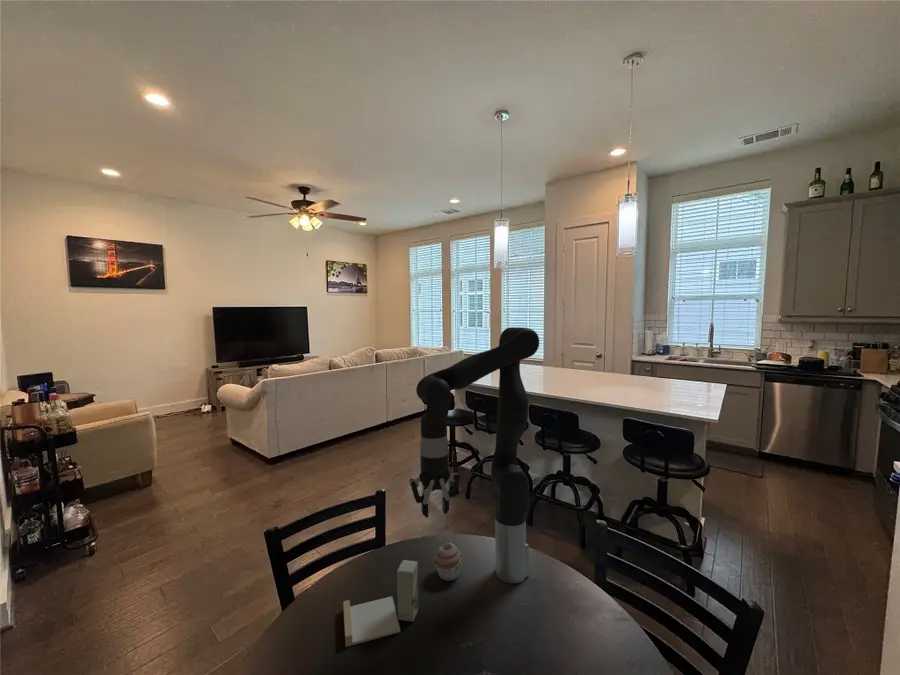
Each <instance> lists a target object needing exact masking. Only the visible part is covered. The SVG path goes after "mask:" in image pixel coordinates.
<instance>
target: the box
mask: <svg viewBox="0 0 900 675" xmlns="http://www.w3.org/2000/svg"><path fill="white" fill-rule="evenodd" d="M418 564H419V562H418V561H417V560H416V561H415V560H407V559H405V560H404V559H403V560H402V561H401V562H400V565H399V567H398V568H397V571H396V578H397V579H396V582H397V583H396V588H397V593H396V594H397V595H396V596H397V618H398V621H404V622H405V621H406V622H414V620H415V619H416V616H417V614H418V611H419V605H420V604H419V572H418V571H419V570H418V569H419V568H418Z"/></svg>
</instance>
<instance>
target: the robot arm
mask: <svg viewBox="0 0 900 675" xmlns="http://www.w3.org/2000/svg"><path fill="white" fill-rule="evenodd" d="M539 347H540V337H539V335H538V333H537V332H536V331H535V330H534V329H532V328H528V327H518V326H517V327H512V326H511V327H507V328H505V329H504V330H503V331H502V332H501V333H500V336H499V341H498V346H496V347H494V348H491V349H488V350H486V351H482V352H478V353H475V354H473V355H471V356H468V357H465V358H464V359H462V360H460V361H458V362H456V363H454V364H453V365H452V366H449V367H447V368H445V369H444V368H443V369H440V370H437V371H435V372H433V373H429V374H427V375H426V376H424V377H423V378H421V380H419V381H418V383H417V385H416V390H415V391H416V395H417V397H418V398H419V399H420V400H421V401H423V402H425V403H426V408H425V413H423V414H422V416H421V417H420V444H419V448H420V450H419V451H420V460H419V461H420V473H419V476H418V477H416V478H409V481H408V482H409V484H410V488H411V489H410V490H411V491H412V492H411V493H412V496H413V499H414V500H415V502H416V504H421V514H422V516H423V517H424V518H426V519H427V518H429V503H428V501H429V498H430V496H431V494H432V492H434V491H440V492H441V494H442V497H441V500H442V501H441V504H442V508H441V510H442V513H443V514H444V515H448V512H449V511H450V499H452V498H456V496H457V491H458V487H459V482H460V478H461V476H460V475H459V474H458V473H457V471H454V472H450V470H449V469H450V468H449V467H450V466H449V450H450V448H449V439H448V421H447V420H448V415H449V412H450V405H451V401H452V391H455V390H458V391H459V390H463V389H465V388H466V387H469V386H470V385H472V384H474V383H476V382H477V381H479V380H481V379H483V378H484V377H487V376H488V375H490V374H492V373H493V372H495V371H498V370H499V377H498V378H499V381H498V397H497V398H498V400H497V412H496V430H495V431H496V432H495V450H494V456H493V460H492V466H491V473H490V475H491V476H490V478H491V479H490V480H491V483H492V485H493V487H494V488H495V489H496V491H498V492H499V504H498V505H497V506H496V507H495V509H494V530H495V534H494V535H495V537H494V539H495V542H494V544H495V575H496V577H497V578H498V579H499V580H500V581H501V582H504V583H506V584H511V585H512V584H519V583H522V582H523V581H525V579H526V578H528V577H530V545H529V544H528V543H527V526H526V524H527V523H526V520H527V517H526V516H527V513H528V510H529V502H530V501H529V500H530V499H529V495H530V487H529V486H530V485H529V484H530V483H529V478H528V476H527V475H526V473H525V472H524V471H523V470H522V469H520V468H519V467H518V465H517V464H518V460H517V457H518V455H517V454H518V447H519V443H520V440H521V438H522V436H523V434H524V432H525V430H526V427H527V423H528V416H529V398H528V395H527V392H526V388H525V386H524V383H523V379H522V377H521V368H520V367H521V361H522V360H525V359H529V358H531V357H532V356H534V355H535V354H536V353H537V352H538V349H539ZM448 480H449V481H450V486H449V490H448V489H447V486H446V484H447V483H448ZM420 483H421V484H422V485H423V488H422V493H421V495H420V493H419V491H418V488H419V487H420Z"/></svg>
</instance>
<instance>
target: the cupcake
mask: <svg viewBox="0 0 900 675" xmlns="http://www.w3.org/2000/svg"><path fill="white" fill-rule="evenodd" d="M463 557H464V556H463V554H461V552H460V550H459V548H458V547H457V546H456V545H455V544H454V543H452V542H446V543H445V544H443V545H441V546H439V547H438V549H437V553H436V556H434V557H433V560H434V561H433V565H435V567H436V571H437V573H438V577H439V578H440V579H441V580H442V581H445V582H452V581H455V580H456V579H458V577H459V576H460V572H461V568H462V565H463V563H464V561H465V559H464V558H463Z"/></svg>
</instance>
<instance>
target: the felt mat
mask: <svg viewBox="0 0 900 675" xmlns="http://www.w3.org/2000/svg"><path fill="white" fill-rule="evenodd" d="M342 603H343V605H342V606H343V626H344V641H345V648H348V647H351V646H353V645H354V646H355V645H359V644H362V643H365V642H368V641H372V640H376V639H380V638H383V637H387V636H391V635H394V634H397V633H401V627H400V622H399V620H398V613H397V610H396V606H395V602H394V598H393V595H392V596H387V597H384V598H380V599H375V600H371V601H367V602H364V603H363V602H362V603H359V604H355V605H351V601H350V599H347V600H344V601H342Z"/></svg>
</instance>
